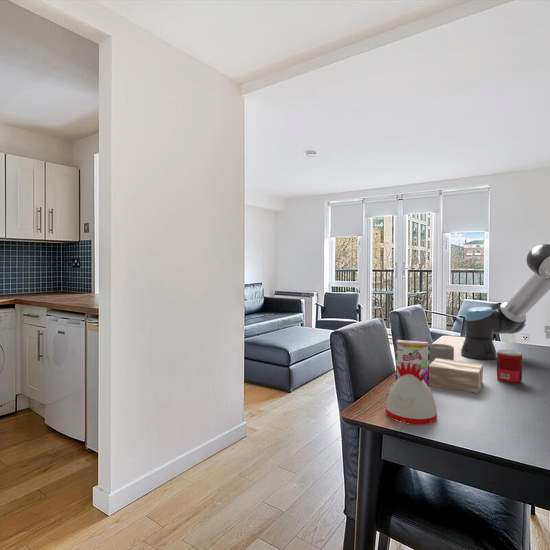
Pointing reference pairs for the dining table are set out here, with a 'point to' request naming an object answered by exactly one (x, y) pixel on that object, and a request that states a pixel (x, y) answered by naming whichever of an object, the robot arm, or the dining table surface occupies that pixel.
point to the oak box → (456, 375)
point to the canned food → (509, 366)
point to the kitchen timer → (411, 398)
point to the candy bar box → (413, 357)
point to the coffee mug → (440, 352)
